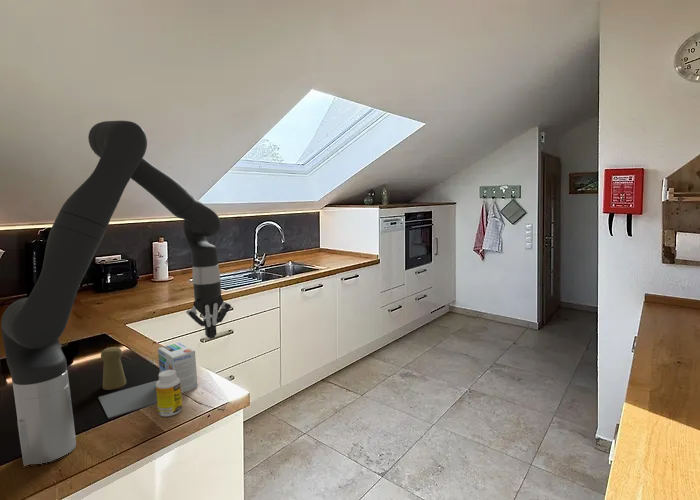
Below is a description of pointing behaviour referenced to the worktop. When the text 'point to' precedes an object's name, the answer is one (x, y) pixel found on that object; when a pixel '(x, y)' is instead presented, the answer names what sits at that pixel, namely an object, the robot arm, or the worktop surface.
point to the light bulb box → (179, 364)
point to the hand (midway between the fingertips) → (211, 337)
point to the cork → (112, 368)
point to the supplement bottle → (168, 393)
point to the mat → (129, 399)
